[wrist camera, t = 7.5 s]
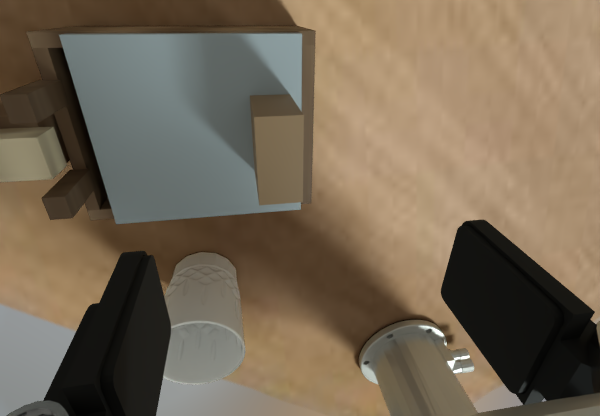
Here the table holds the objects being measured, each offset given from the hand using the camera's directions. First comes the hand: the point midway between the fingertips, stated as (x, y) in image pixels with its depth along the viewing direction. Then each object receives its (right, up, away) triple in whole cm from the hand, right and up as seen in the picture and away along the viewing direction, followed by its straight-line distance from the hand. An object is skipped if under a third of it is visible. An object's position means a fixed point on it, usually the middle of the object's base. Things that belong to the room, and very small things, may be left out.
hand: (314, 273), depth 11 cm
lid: (-7, +7, +12) cm, 16 cm away
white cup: (-11, -5, +27) cm, 30 cm away
